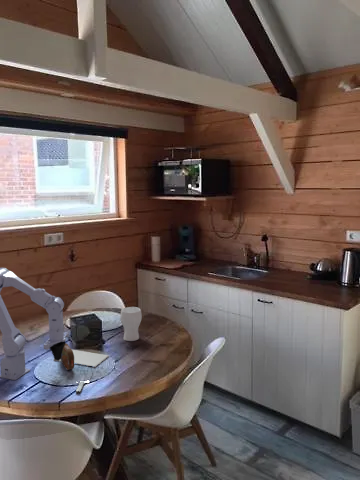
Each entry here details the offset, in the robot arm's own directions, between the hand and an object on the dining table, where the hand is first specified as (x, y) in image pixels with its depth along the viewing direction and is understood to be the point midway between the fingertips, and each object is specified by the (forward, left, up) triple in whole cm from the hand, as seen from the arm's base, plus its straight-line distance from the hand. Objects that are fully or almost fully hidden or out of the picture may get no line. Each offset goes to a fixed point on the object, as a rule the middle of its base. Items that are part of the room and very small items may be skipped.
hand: (57, 359), depth 174 cm
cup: (+45, -12, -6) cm, 47 cm away
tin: (+7, 0, -6) cm, 9 cm away
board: (+15, -1, -6) cm, 17 cm away
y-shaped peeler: (-3, -14, -6) cm, 16 cm away
